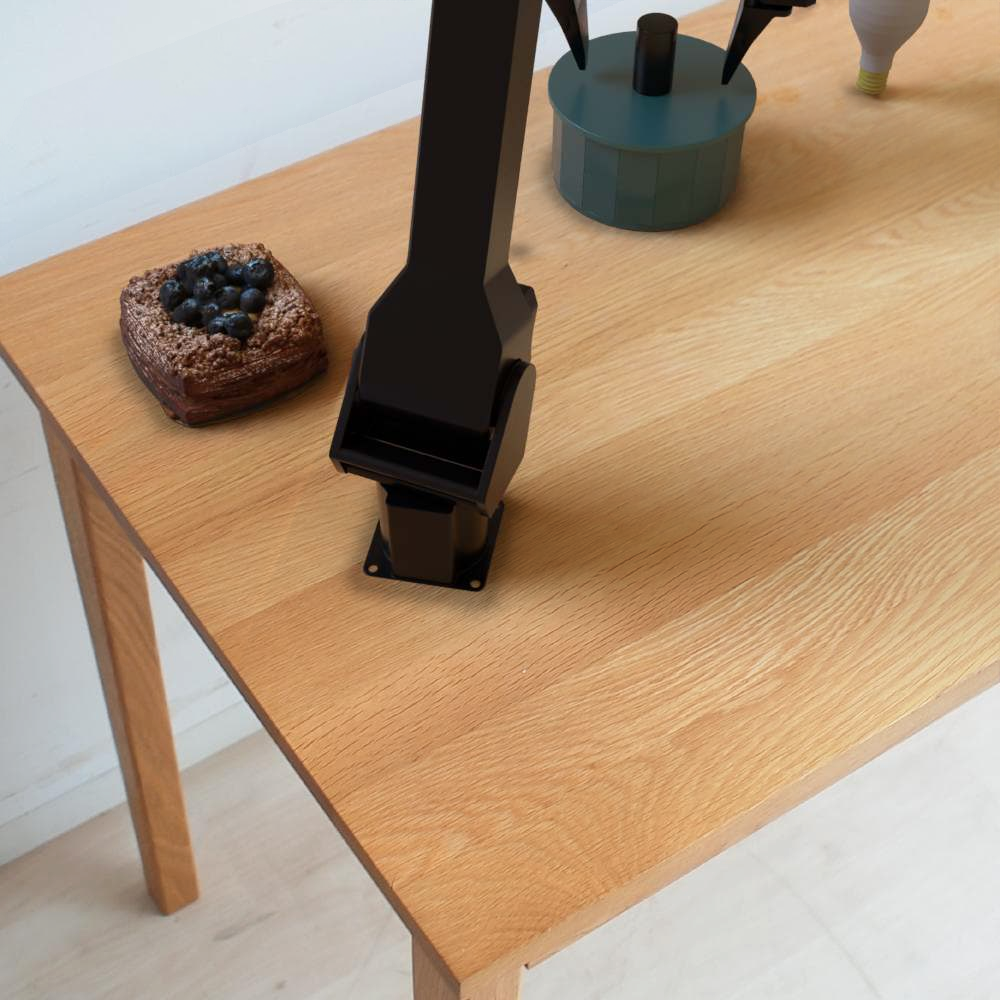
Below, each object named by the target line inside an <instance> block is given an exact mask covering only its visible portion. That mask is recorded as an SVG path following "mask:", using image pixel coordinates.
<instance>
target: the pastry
mask: <svg viewBox="0 0 1000 1000" xmlns="http://www.w3.org/2000/svg"><path fill="white" fill-rule="evenodd" d="M128 281H129V284H126V285H125V286H124V287H123V288H122V289H121V291H120V296H119V304H120V318H119V320H118V323H119V327H120V334H121V340H122V342H123V345H124V347H125V350H126V353H127V357H128V359H129V362H130V363H131V365H132V367H133V369H134V371H135V372H136V375H137V376H138V378H139V379H140V381H141V382H142V384H143V385H144V386H145V387H146V389H147V390H148V392H150V393H151V395H152V396H154V398H155V399H156V400H157V401H158V403H159V404H160V406H161V408H162V410H163V411H164V413H165V416H166V417H167V418H168V419H170V420H172V421H174V422H176V423H178V424H180V425H183V426H186V427H191V428H192V427H202V426H207V425H212V424H213V425H214V424H218V423H222V422H225V421H230V420H235V419H238V418H242V417H245V416H249V415H251V414H254V413H256V412H260V411H263V410H265V409H269V408H271V407H274V406H276V405H279V404H281V403H283V402H285V401H289V400H291V399H292V398H294V397H296V396H298V395H299V394H301V393H303V392H305V391H306V390H308V389H309V388H311V387H312V386H313V385H314V384H315V383H316V382H318V381H319V380H321V379H322V378H323V377H324V376H325V375H327V373H328V370H329V365H330V364H331V360H330V359H329V354H328V350H327V347H328V342H327V340H326V337H325V334H324V327H323V322H322V317H321V316H320V313H319V312H318V310H317V308H316V305H315V304H314V302H313V301H312V299H311V298H310V296H309V295H308V293H307V292H306V290H305V289H304V288H303V286H302V285H301V284H300V283H299V281H298V280H297V279H296V278H295V277H294V275H292V273H291V272H290V271H289V270H288V269H287V267H286V266H284V265H283V263H281V261H279V260H278V259H277V258H276V257H274V255H273V253H272V250H270V249H267V248H265V245H264V243H261V242H250V243H241V244H240V243H236V244H234V243H232V242H230V243H228V244H226V245H225V244H221V246H218V245H214V246H213V247H211V248H209V247H207V248H205V249H203V250H201V251H199V250H197V249H195V248H193V249H191V251H190V253H189V254H188V257H187V258H183V259H182V260H180V261H176V262H172V263H170V264H168V265H164V266H163V267H158V268H157V267H156V268H152V269H146V270H145V271H144V272H143V275H142V276H138V275H134V276H132V277H131V278H130V279H129V280H128Z"/></svg>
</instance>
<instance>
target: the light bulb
mask: <svg viewBox="0 0 1000 1000" xmlns="http://www.w3.org/2000/svg"><path fill="white" fill-rule="evenodd" d="M930 4H931V0H848V15H849V18H850V21H851V24H852V28H853V29H854V31H855V34H856V36H857V38H858V41H859V44H860V47H861V55H860V59H859V71H858V78H857V82H856V87H857V89H858V90H859V91H861V92H862V93H863V94H866V95H868V96H872V95H878V94H881V93H883V92H884V91H885V90H886V89H887V82H888V78H889V74H890V70H891V69H892V67H893V61H894V58H895V55H896V53H897V52H898V51H899V50H900V49H901V48H902V47H903V46H904V45H905V44H906V43H907V41H909V40H910V39H911V38H912V37H913V36H914V35H915V34H916V32H917V31H919V29H920V28H921V27H922V25H923V24H924V21H926V17H927V16H928V13H929V10H930V9H929V8H930Z"/></svg>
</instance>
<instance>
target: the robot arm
mask: <svg viewBox="0 0 1000 1000" xmlns="http://www.w3.org/2000/svg"><path fill="white" fill-rule="evenodd" d="M543 1H545V3H546V5H547V6H548V8H549V10H550V11H551V13H552V14H553V16H554V18H555V19H556V21H557V23H558V25H559V26H560V29H561V30H562V33H563V35H564V37H565V40H566V42H567V44H568V47H569V50H571V52H572V54H573V56H574V59H575V61H576V63H577V66H578V68H579V70H584V71H585V70H586V66H587V61H588V48H589V40H590V35H589V34H590V33H589V18H588V2H587V1H588V0H431V7H430V18H429V29H428V41H427V50H426V60H425V69H424V79H423V80H424V82H423V91H422V100H421V110H420V111H421V113H420V122H419V123H420V124H419V132H418V133H419V134H418V143H417V154H416V165H415V175H414V184H413V185H414V186H413V195H412V204H411V205H412V206H411V215H410V216H411V217H410V227H409V235H408V249H407V257H406V262H405V265H404V267H402V269H401V270H400V271H399V273H397V275H396V276H395V278H394V279H393V280H392V281H391V282H390V283H389V285H388V286H387V288H385V289H384V290H383V292H382V294H381V295H380V296H379V297H378V298H377V299H376V301H375V302H374V303H373V305H372V306H371V307H370V309H369V310H368V313H367V316H366V322H365V329H364V331H363V333H362V335H361V337H360V339H359V341H358V344H357V345H356V346H354V349H353V351H352V358H351V362H350V367H349V372H348V376H347V380H346V387H345V391H344V395H343V400H342V402H341V406H340V410H339V413H338V417H337V421H336V425H335V428H334V432H333V436H332V440H331V443H330V447H329V450H328V458H329V460H330V461H331V463H332V465H333V467H334V468H335V471H336V472H338V473H341V474H345V475H348V474H350V475H351V474H352V475H354V476H358V477H360V478H364V479H367V480H371V481H375V484H376V485H375V486H376V494H377V505H378V516H379V517H378V521H377V524H376V526H375V528H374V529H375V530H374V532H373V536H372V539H371V542H370V545H369V548H368V551H367V554H366V557H365V560H364V563H363V567H362V571H363V573H364V574H365V575H366V576H367V577H373V578H379V579H385V580H392V581H399V582H404V583H405V582H406V583H414V584H420V585H424V586H425V585H426V586H432V587H433V586H434V587H439V588H446V589H453V590H459V591H466V592H472V593H478V592H481V591H482V590H484V589H485V587H486V583H487V579H488V577H489V576H488V575H489V571H490V567H491V564H492V559H493V555H494V552H495V546H496V543H497V539H498V536H499V532H500V527H501V522H502V520H503V516H504V512H505V502H504V501H503V500H502V498H503V496H504V495H505V493H506V491H507V489H508V488H509V485H510V484H511V482H512V480H513V478H514V476H515V474H516V472H517V471H518V469H519V467H520V465H521V464H522V463H521V462H523V459H524V458H525V455H526V446H527V443H528V436H529V435H528V434H529V429H530V422H531V415H532V410H533V404H534V403H533V402H534V397H535V392H536V391H535V390H536V384H537V383H536V382H537V367H536V366H535V364H534V363H532V345H533V335H534V329H535V323H536V318H537V314H538V308H539V304H538V300H537V296H536V292H535V289H534V287H533V286H531V285H527V284H523V283H519V282H518V280H517V278H516V276H515V274H514V272H513V270H512V267H511V266H510V263H509V259H510V250H511V241H512V235H513V234H512V233H513V226H514V219H515V218H514V217H515V211H516V205H517V204H516V203H517V196H518V188H519V182H520V181H519V180H520V174H521V173H520V172H521V167H522V165H521V164H522V159H523V152H524V143H525V136H526V130H527V129H526V128H527V122H528V113H529V108H530V107H529V106H530V99H531V92H532V85H533V84H532V83H533V78H534V77H533V76H534V70H535V60H536V54H537V46H538V40H539V39H538V38H539V31H540V26H541V25H540V24H541V18H542V17H541V16H542V10H543ZM816 4H817V0H739V3H738V7H737V10H736V14H735V18H734V22H733V24H732V29H731V32H730V36H729V39H728V43H727V47H726V49H725V50H726V54H725V60H724V66H723V73H722V81H721V84H722V85H728V83H729V81H730V80H731V78H732V76H733V75H734V73H735V71H736V69H737V68H738V66H739V64H740V63H741V62H742V61H743V59H744V58H745V56H746V55H747V52H749V49H750V48H751V47H752V45H753V44H754V42H755V41H756V40H757V38H758V37H759V36H760V35H761V34H762V32H763V31H764V30H765V29H766V28H767V27H768V25H769V24H770V23H771V22H772V20H774V18H788V17H790V16H791V15H792V14H793V13H792V12H793V8H795V7H796V8H803V9H804V8H805V9H806V8H809V7H811V6H814V5H816ZM498 506H499V507H498ZM370 566H375V567H376V570H375V571H370V570H369V567H370ZM474 581H475V582H476V581H477V582H479V586H477V587H474V586H472V582H474Z"/></svg>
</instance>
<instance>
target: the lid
mask: <svg viewBox="0 0 1000 1000" xmlns="http://www.w3.org/2000/svg"><path fill="white" fill-rule="evenodd" d="M635 29H636V30H629V31H621V32H613V33H609V34H605V35H600V36H598V37H597V36H596V37H594V38H591V39H589V48H588V61H587V66H586V70H585V71H584V70H579V68H578V66H577V63H576V61H575V59H574V56H573V54H572V52H571V49H569V50H568V51H567V52H565V53H564V54H563V55H561V57H560V58H559V59H558V60H557V61H556V62H555V64H554V65H553V67H552V68H551V70H550V73H549V75H548V78H547V79H548V80H547V98H548V100H549V104H550V106H551V108H552V110H554V112H555V113H556V114H557V115H558V117H559V118H560V119H561V120H562V121H563V122H564V123H565V124H566V125H567V126H569V127H570V128H571V129H573V130H574V131H576V132H577V133H579V134H581V135H583V136H585V137H586V138H588V139H591V140H593V141H596V142H598V143H601V144H604V145H607V146H610V147H614V148H618V149H622V150H628V151H635V152H644V153H674V152H683V151H689V150H695V149H699V148H703V147H707V146H709V145H712V144H715V143H718V142H720V141H722V140H724V139H726V138H728V137H730V136H731V135H733V134H734V133H736V132H737V131H738V130H739V129H741V128H742V127H743V126H744V125H745V126H746V124H747V123H748V121H750V119H751V117H752V115H753V114H754V111H755V108H756V104H757V98H758V89H757V84H756V81H755V79H754V76H753V75H752V73H751V71H750V70H749V68H748V67H747V66H746V65H745V64H744V63H743V62H742V61H741V63H740V64H739V66H738V68H737V69H736V71H735V73H734V75H733V76H732V78H731V80H730V81H729V83H728V85H722V84H721V81H722V73H723V66H724V60H725V54H726V50H727V49H724V48H722V47H721V46H718V45H717V44H715V43H712V42H709V41H706V40H704V39H701V38H698V37H695V36H691V35H686V34H682V33H678V32H679V21H678V20H677V18H675V17H674V16H672V15H671V14H669V13H665V12H649V13H645V14H642V15H641V16H639V18H638V19H637V21H636V28H635Z"/></svg>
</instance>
